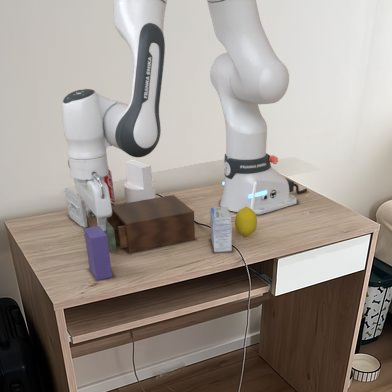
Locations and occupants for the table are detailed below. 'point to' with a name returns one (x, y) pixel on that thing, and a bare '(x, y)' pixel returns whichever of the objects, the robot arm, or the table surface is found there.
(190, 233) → the cabinet
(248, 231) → the lemon
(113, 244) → the drawer
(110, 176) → the soda can
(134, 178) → the cylinder with rectangular tab
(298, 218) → the table surface
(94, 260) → the snack bar carton
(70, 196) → the cassette
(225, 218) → the medicine box
